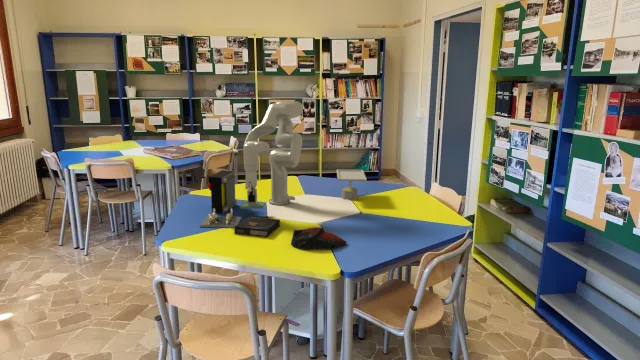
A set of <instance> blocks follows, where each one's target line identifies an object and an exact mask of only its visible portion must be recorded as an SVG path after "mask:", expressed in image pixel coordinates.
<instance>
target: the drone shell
mask: <svg viewBox="0 0 640 360" xmlns="http://www.w3.org/2000/svg"><path fill="white" fill-rule="evenodd" d="M292 233H293V234H292V237H291V240H290V245H291V247H292V248H295V249H298V250H304V251H309V250H310V251H317V250H321V251H322V250H333V249H335V248H339V247H341V246H344V245H347V240H345V239H343V238H342V237H340V236H339V235H337V234H335V233H332V232H330V231H328V230H324V228H322V227H320V226H319V227H318V226H317V227H316V226H315V227H314V226H313V227H309V228H304V229H294V230H293V232H292Z"/></svg>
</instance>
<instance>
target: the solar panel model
mask: <svg viewBox="0 0 640 360" xmlns="http://www.w3.org/2000/svg"><path fill="white" fill-rule="evenodd" d="M336 177H337V181H338V182H339V181H341V182H342V181H343V182H344V181H345V182H348V186H345V187H342V188H341V199H343V200H346V199H348V200H347V201H353V200H357V199H358V189H357V188H356V187H352V182H367V181H368V180H367V177H366V174H365V171H364V170H363V169H336Z"/></svg>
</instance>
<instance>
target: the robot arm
mask: <svg viewBox="0 0 640 360" xmlns="http://www.w3.org/2000/svg"><path fill="white" fill-rule="evenodd" d="M303 110H304V106H303V105H302V103H301V102H300V101H292V100H291V101H290V100H279V101H277V102H274V103H271V104H269V105H268V108H267V109H266V111H265V114H264V116H263V119H262V121H261V122H260V124H258V125H256V126H255V127H254V128H252V130H250V131H249V133H248V134H247V135H246V138H245V140H244V142H243V147H242V149H243V168H244V169H243V170H244V171H245V181H244V182H245V186H244V187H245V190H246V191H247V190H248V189H249V202H255V195H254V189H257V185H258V173H257V172H259V170H260V169H259V168H260V167H259V165H260V164H259V157H264V156H267V155H268V154H269V156H268V160H269V165H270V178H271V179H270V184H271V190H270V191H271V195H270V197H271V198H270V199H268V203H269V204H270V205H275V206H279V205H280V206H283V205H289V204H290V203H291V201H295V200H296V196H294V195H289V193H288V172H287V171H288V170H287V169H286V168H296V167H297V166H298V164H299V161H300V157H301V153H302V147H303V136H302V135H301V134H300V133H298V132H293V128H294V124H293V120H292V119H295V118H299V117H300V116H301V115H302V113H303ZM275 131H277V132H276V136H275V145H276V147H278V148H280V149H273V150H272V151H271V146H270V144H269V143H268V142H266V141H261V140H258V139H260V138H263V137H264V136H267V135H270V134H272V133H274V132H275ZM287 149H289V150H287ZM252 190H253V191H252Z"/></svg>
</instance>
